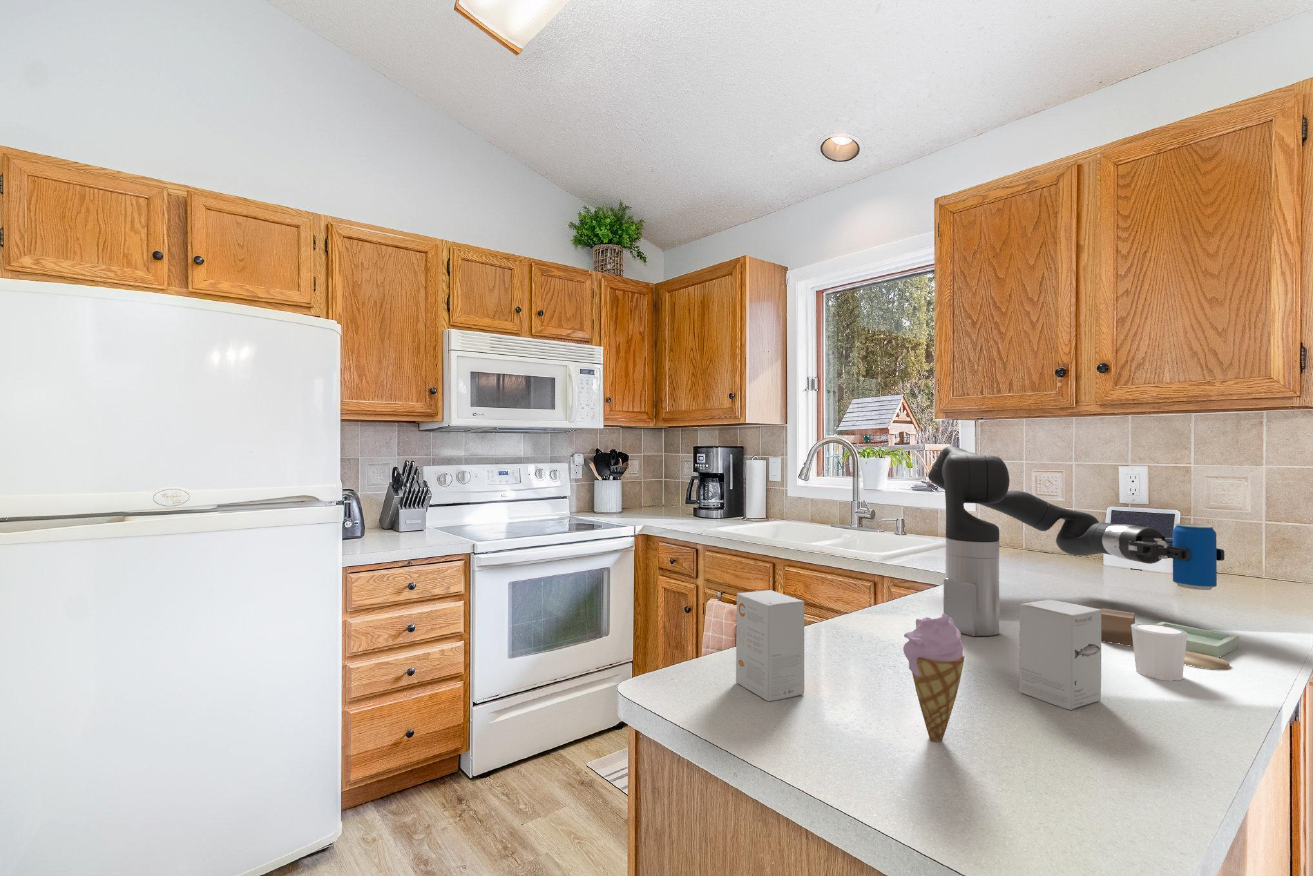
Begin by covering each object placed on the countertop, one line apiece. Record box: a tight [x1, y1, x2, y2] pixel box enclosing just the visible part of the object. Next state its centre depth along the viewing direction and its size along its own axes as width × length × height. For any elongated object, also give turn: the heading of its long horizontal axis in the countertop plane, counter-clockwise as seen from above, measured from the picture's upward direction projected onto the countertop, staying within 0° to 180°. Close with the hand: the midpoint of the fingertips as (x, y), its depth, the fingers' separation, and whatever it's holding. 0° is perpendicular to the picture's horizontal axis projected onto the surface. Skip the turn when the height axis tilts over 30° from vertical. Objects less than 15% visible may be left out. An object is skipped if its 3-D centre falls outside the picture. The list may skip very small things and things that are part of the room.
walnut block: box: [1100, 608, 1136, 647], centre depth 115 cm, size 5×5×5 cm
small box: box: [735, 589, 805, 702], centre depth 90 cm, size 8×6×13 cm
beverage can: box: [1172, 522, 1218, 591], centre depth 123 cm, size 6×6×12 cm
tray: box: [1155, 621, 1240, 658], centre depth 113 cm, size 11×11×2 cm
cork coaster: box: [1184, 651, 1230, 670], centre depth 104 cm, size 8×8×1 cm
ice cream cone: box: [903, 612, 965, 743], centre depth 75 cm, size 7×6×15 cm
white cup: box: [1131, 622, 1187, 681], centre depth 98 cm, size 7×7×7 cm
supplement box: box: [1018, 599, 1102, 711], centre depth 88 cm, size 7×7×13 cm
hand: (1205, 555), depth 121 cm, fingers closed on beverage can, 6 cm apart
